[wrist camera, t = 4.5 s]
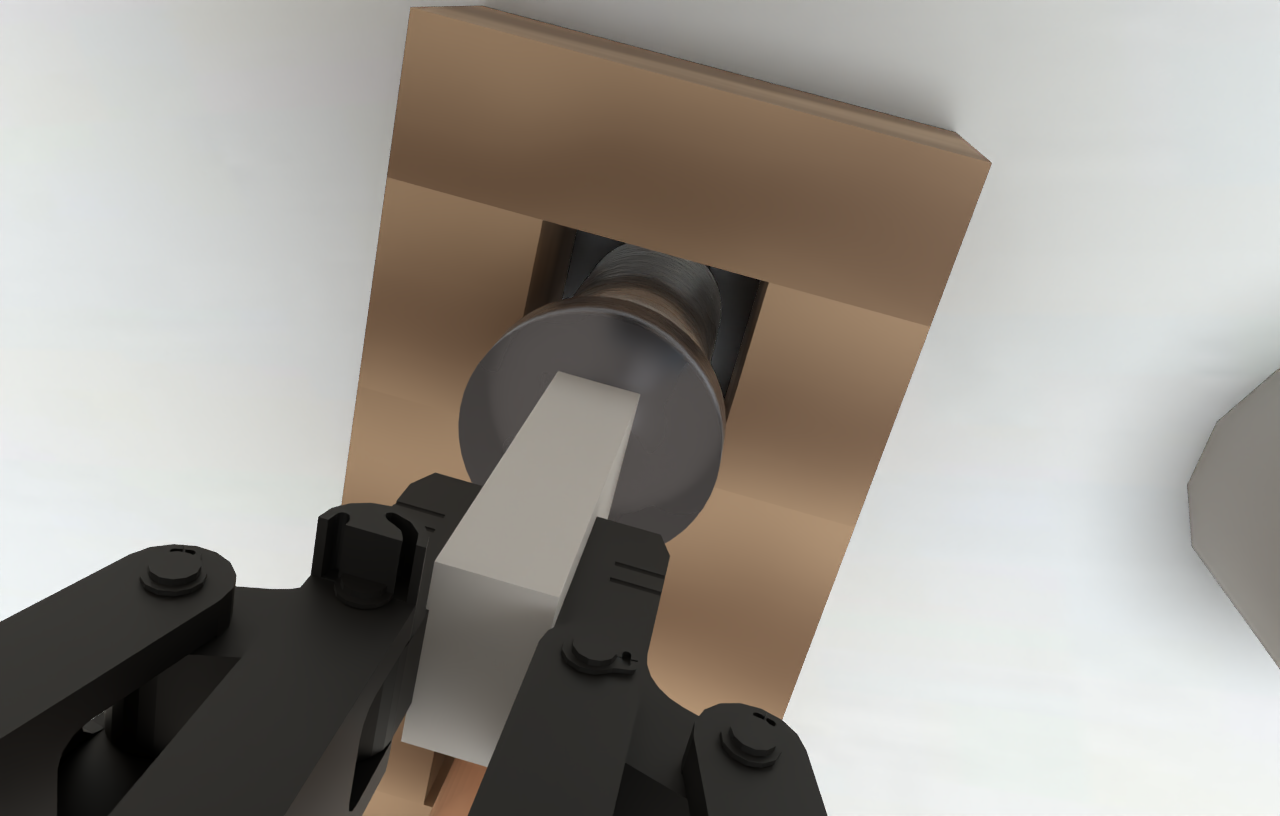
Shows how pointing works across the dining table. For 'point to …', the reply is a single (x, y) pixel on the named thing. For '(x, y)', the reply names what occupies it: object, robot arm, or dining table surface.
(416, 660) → the robot arm
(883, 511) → the dining table surface
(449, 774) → the plug terracotta
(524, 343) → the plug grey
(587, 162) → the socket block
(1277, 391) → the cup
